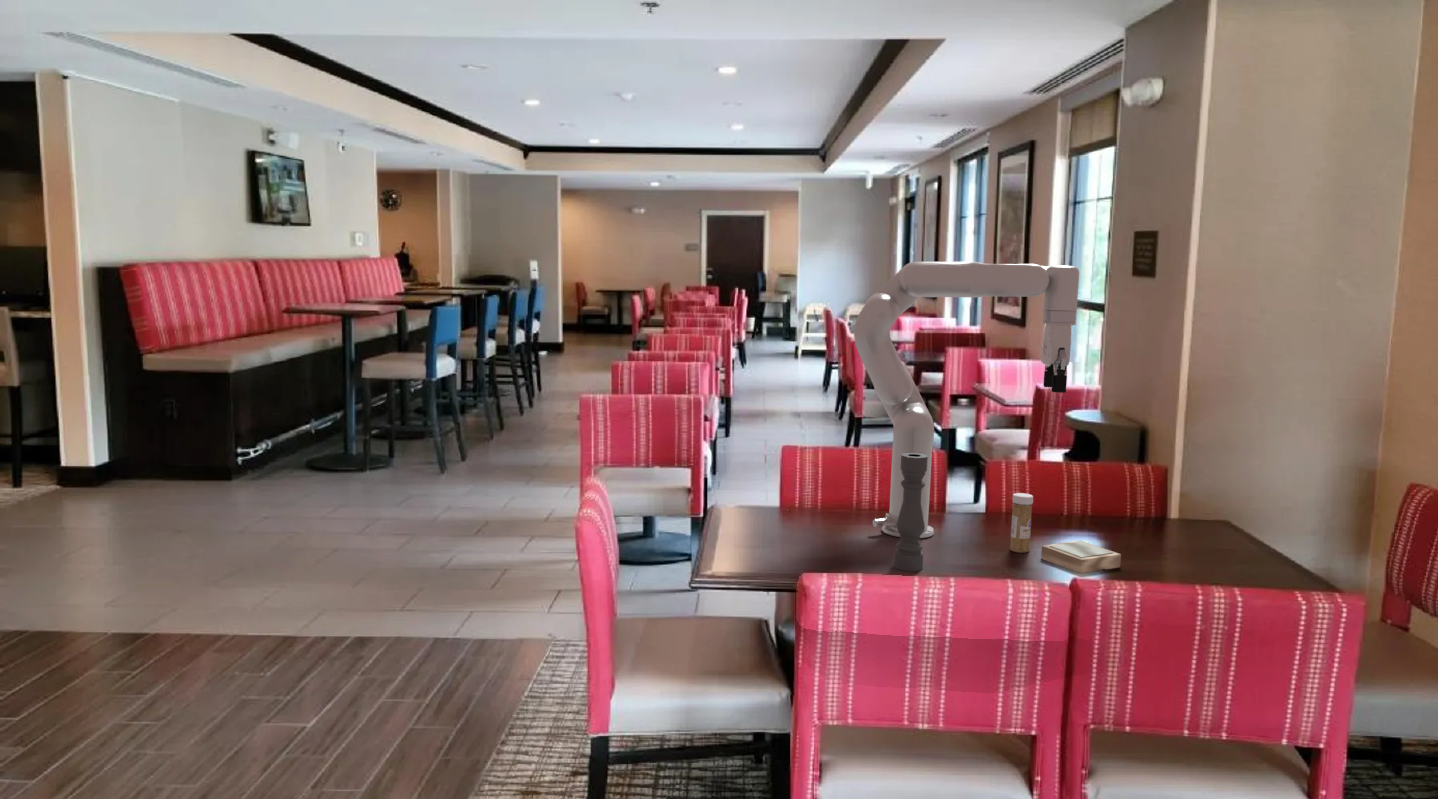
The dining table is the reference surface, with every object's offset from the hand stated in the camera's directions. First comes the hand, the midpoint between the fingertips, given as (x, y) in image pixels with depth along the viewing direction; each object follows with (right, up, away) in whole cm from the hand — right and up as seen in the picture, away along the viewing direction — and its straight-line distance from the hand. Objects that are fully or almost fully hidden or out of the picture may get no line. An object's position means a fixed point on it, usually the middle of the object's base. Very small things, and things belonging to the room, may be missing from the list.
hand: (1054, 389), depth 248 cm
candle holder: (-39, -39, -20) cm, 59 cm away
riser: (+2, -39, -13) cm, 41 cm away
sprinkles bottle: (-10, -38, -4) cm, 39 cm away
